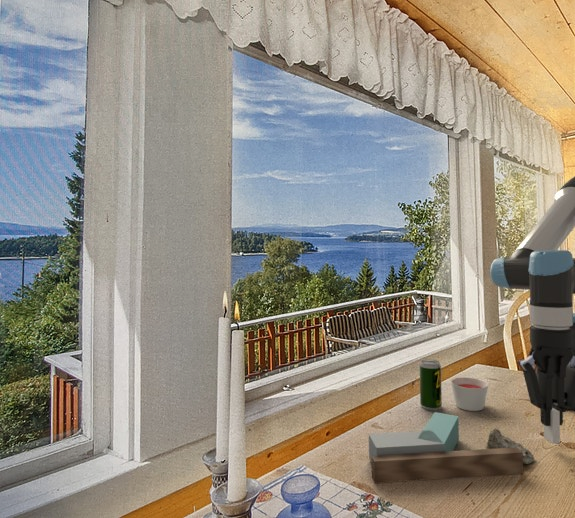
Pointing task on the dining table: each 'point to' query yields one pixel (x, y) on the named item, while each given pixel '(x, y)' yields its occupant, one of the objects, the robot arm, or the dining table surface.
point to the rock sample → (507, 445)
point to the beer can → (430, 384)
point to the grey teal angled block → (418, 438)
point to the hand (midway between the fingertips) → (551, 440)
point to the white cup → (469, 393)
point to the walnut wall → (447, 464)
